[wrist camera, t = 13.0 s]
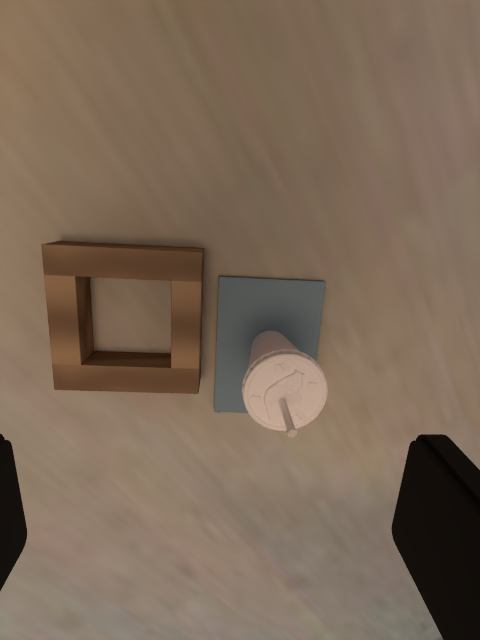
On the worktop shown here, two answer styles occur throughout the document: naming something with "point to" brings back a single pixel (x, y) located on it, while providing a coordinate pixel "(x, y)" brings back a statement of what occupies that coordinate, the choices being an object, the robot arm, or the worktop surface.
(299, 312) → the mat
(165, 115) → the worktop surface
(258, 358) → the smoothie
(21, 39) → the worktop surface
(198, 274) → the wooden square frame
